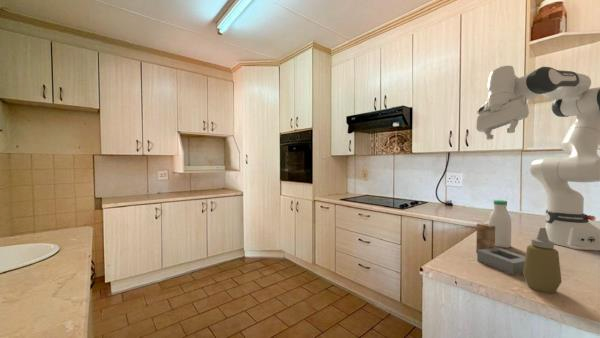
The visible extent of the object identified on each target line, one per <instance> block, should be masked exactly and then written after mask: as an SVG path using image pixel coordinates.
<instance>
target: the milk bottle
mask: <svg viewBox="0 0 600 338" xmlns="http://www.w3.org/2000/svg"><path fill="white" fill-rule="evenodd" d="M493 206H494V207H493V209H492V211H491V213H490V214H489V217H488V224H489V225H493V226H495V248H496V247H497V248H501V249H503V248H504V249H505V248H507V249H509V248H511V246H512V218H511V215H510V214H509V212H508V210H507V209H508V208H507V206H508V201H507V200H503V199H495V200H493Z"/></svg>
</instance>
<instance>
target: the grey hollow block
mask: <svg viewBox="0 0 600 338" xmlns="http://www.w3.org/2000/svg"><path fill="white" fill-rule="evenodd" d="M476 254H477V259H476V260H477V261H478V262H480V263H481V264H485V265H487V266H490V267H492V268H494V269H496V270H499V271H501V272H505V273H507V274H510V275H512V276H516V275H521V274H523V269H524V263H525V257H526V255H525V256H524V255H522V254H518V253H515V252H512V251H509V250H507V249H505V248H504V249H503V248H502V247H496V246H495V248H489V249H482V250H477V253H476Z"/></svg>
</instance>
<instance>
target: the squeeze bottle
mask: <svg viewBox="0 0 600 338" xmlns="http://www.w3.org/2000/svg"><path fill="white" fill-rule="evenodd" d="M554 247H555V244H554V242H553V241H550V240H549V239H548V235H547V232H546V228H545V227H539V230H538V232H537V235H536V237H532V238H531V244H529V245H527V246H526V252H525V263H524V269H523V273H522V274H523V277H524V280H525V282H526V284H527V286H528V287H530V288H531V289H533V290H535V291H538V292H542V293H547V294H554V293H556V292H557V291H558V289H559V287H560V286H561V284H562V274H561V265H560V264H561V263H560V256H559V251H558V250H557V249H555V248H554Z"/></svg>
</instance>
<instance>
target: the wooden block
mask: <svg viewBox="0 0 600 338" xmlns="http://www.w3.org/2000/svg"><path fill="white" fill-rule="evenodd" d="M489 248H496V246H495V226H493V225H489V223H488V224H487V223H483V222H480V223H479V222H478V223H476V254H477V250H482V249H489Z"/></svg>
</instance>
